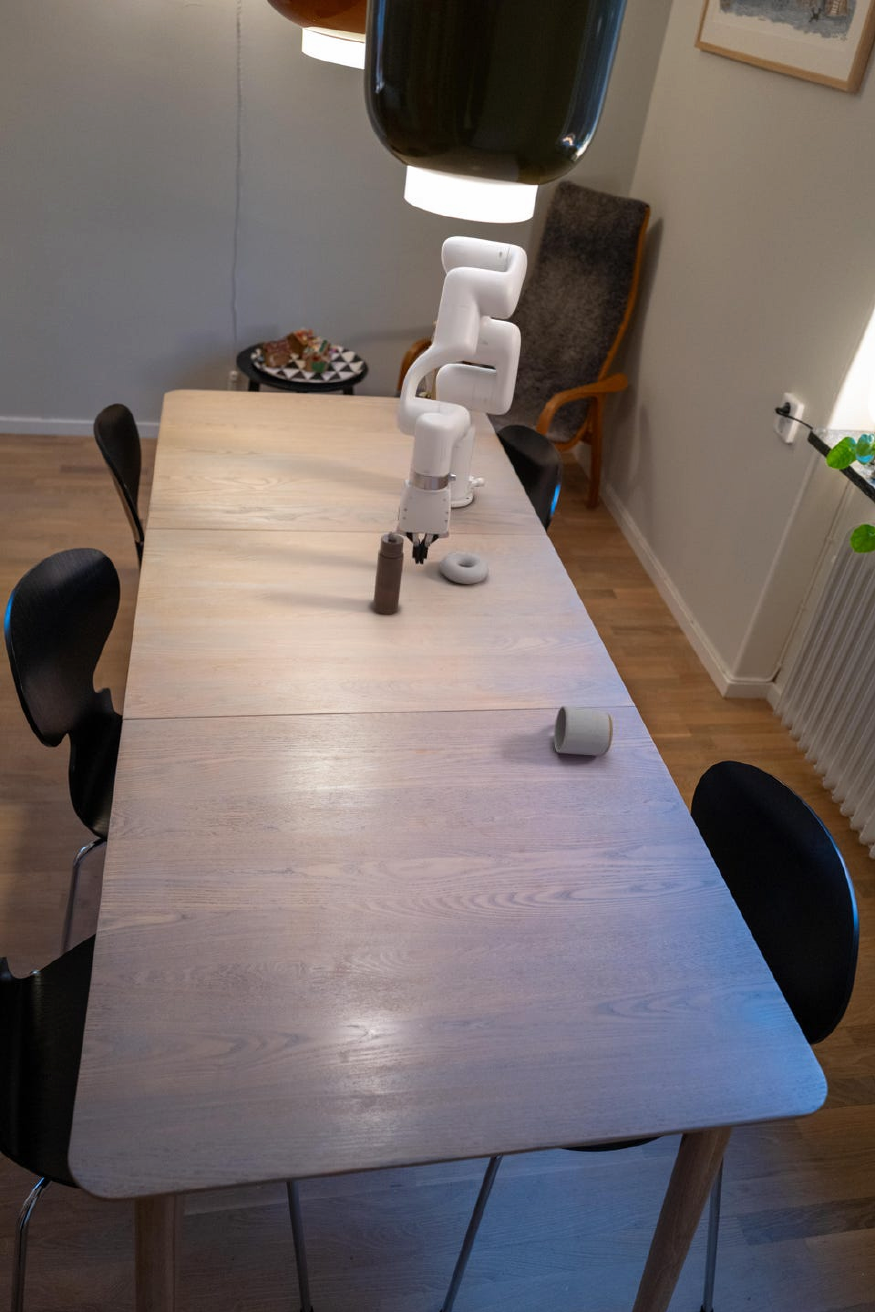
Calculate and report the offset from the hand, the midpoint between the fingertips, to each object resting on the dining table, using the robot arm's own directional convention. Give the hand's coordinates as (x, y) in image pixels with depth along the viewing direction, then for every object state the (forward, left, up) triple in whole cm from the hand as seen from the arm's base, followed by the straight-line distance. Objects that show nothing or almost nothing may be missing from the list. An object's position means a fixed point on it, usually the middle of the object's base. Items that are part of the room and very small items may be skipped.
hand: (418, 560), depth 204 cm
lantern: (-55, -76, -3) cm, 93 cm away
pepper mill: (+13, +9, -3) cm, 17 cm away
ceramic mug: (+6, +58, -3) cm, 59 cm away
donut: (-9, +4, -3) cm, 10 cm away
